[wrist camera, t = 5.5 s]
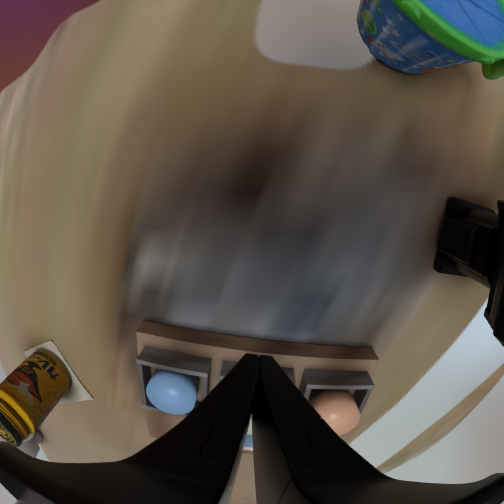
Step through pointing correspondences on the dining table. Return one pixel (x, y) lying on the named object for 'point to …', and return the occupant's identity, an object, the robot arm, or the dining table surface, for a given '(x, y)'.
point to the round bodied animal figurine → (30, 444)
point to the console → (231, 351)
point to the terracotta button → (337, 409)
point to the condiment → (36, 392)
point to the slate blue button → (172, 391)
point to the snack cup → (434, 33)
